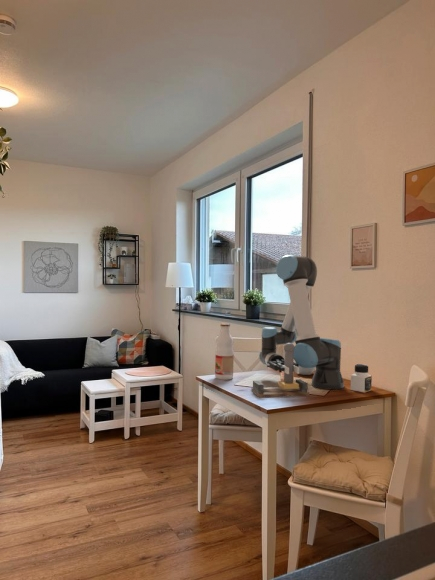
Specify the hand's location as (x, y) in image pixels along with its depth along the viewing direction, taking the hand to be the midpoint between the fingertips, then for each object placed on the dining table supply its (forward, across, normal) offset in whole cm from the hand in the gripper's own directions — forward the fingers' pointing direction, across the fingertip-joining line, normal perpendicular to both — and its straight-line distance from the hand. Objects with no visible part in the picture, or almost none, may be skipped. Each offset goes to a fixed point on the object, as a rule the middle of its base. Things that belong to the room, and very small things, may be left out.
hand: (293, 370), depth 188 cm
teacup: (-46, -26, -11) cm, 54 cm away
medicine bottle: (-6, -36, -11) cm, 39 cm away
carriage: (-5, 0, -8) cm, 10 cm away
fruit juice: (-39, +22, -11) cm, 46 cm away
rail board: (-5, +4, -11) cm, 13 cm away
